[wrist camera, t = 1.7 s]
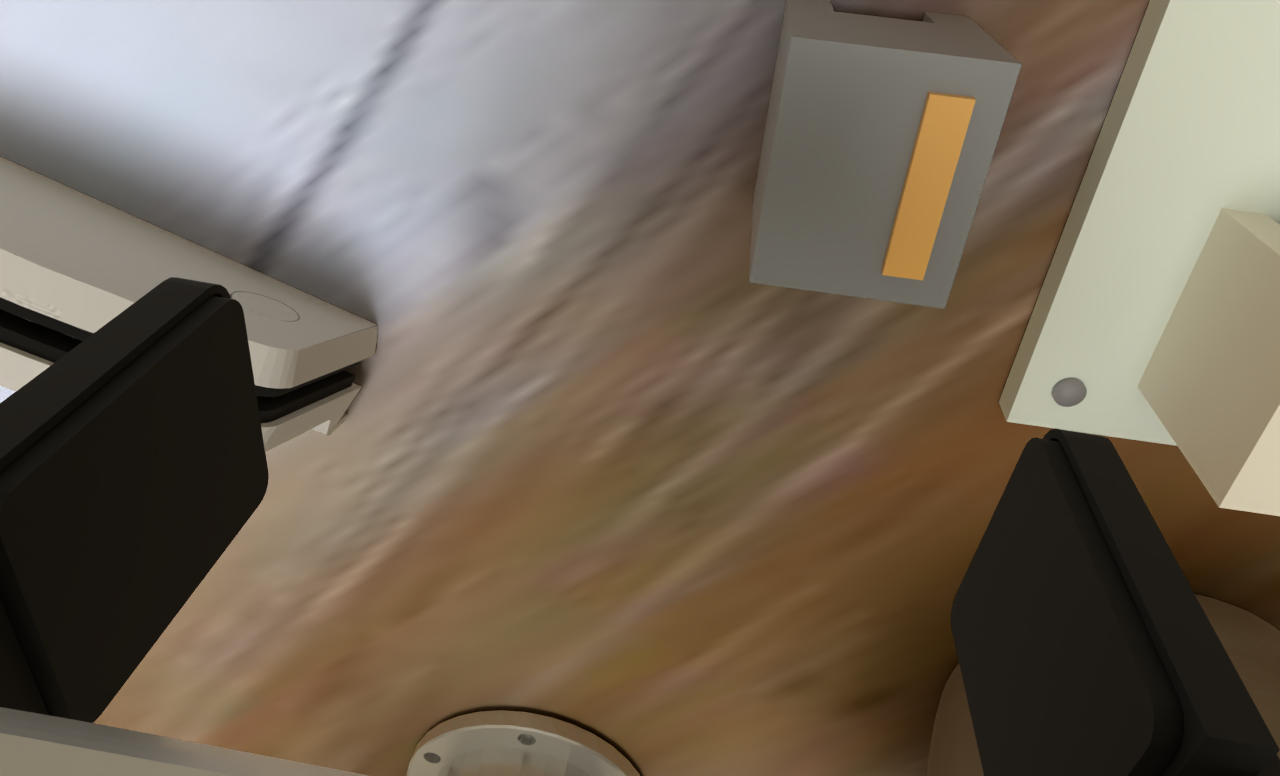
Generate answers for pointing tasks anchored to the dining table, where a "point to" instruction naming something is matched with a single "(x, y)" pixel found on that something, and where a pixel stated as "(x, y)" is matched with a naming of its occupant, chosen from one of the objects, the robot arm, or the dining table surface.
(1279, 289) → the cream module
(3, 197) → the off-white grooved curved block
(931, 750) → the plant pot
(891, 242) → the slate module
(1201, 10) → the panel
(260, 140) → the dining table surface
